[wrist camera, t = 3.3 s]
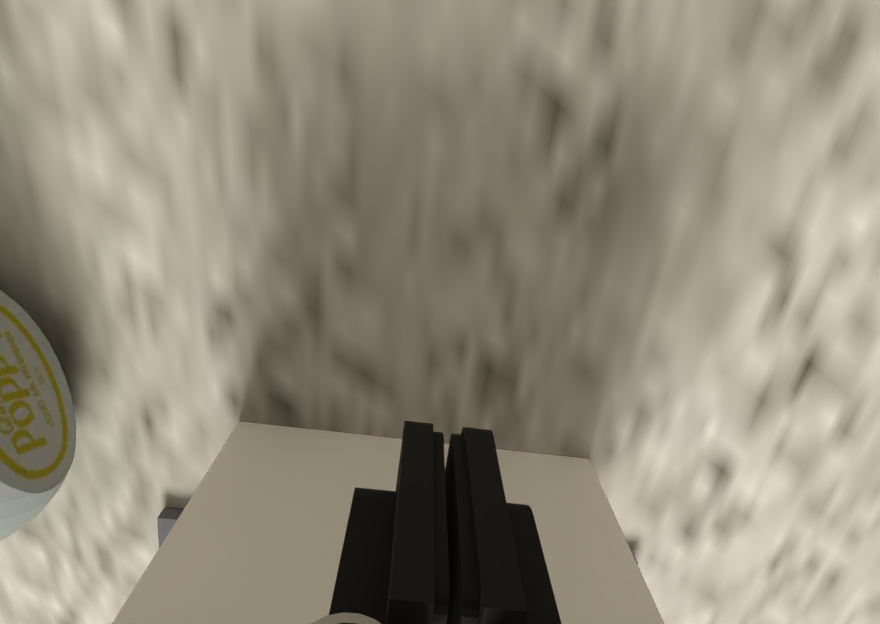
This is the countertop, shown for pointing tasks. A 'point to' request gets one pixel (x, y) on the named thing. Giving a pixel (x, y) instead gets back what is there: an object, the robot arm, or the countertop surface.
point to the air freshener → (30, 419)
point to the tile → (325, 521)
